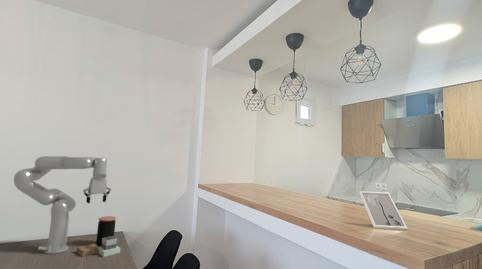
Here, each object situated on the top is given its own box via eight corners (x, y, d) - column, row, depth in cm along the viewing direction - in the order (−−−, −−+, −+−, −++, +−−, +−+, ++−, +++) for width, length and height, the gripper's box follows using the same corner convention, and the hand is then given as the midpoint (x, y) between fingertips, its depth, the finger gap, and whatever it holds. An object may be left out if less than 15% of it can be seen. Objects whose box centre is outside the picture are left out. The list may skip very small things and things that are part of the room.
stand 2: (103, 256, 155) (104, 251, 155) (97, 252, 161) (97, 247, 161) (119, 252, 162) (120, 247, 163) (113, 248, 169) (113, 243, 169)
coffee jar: (110, 241, 183) (113, 215, 184) (115, 245, 175) (118, 218, 177) (93, 243, 175) (96, 217, 177) (98, 248, 168) (101, 220, 169)
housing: (101, 247, 162) (102, 236, 162) (111, 245, 166) (112, 234, 167) (105, 250, 157) (106, 239, 158) (116, 247, 162) (117, 237, 163)
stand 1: (82, 256, 153) (83, 251, 153) (76, 252, 159) (77, 247, 160) (100, 252, 161) (100, 247, 161) (93, 248, 167) (94, 243, 167)
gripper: (110, 175, 178) (107, 200, 177) (82, 176, 165) (79, 202, 164) (114, 176, 173) (112, 202, 172) (86, 177, 160) (83, 204, 159)
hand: (96, 202), depth 168 cm, fingers open, 9 cm apart
